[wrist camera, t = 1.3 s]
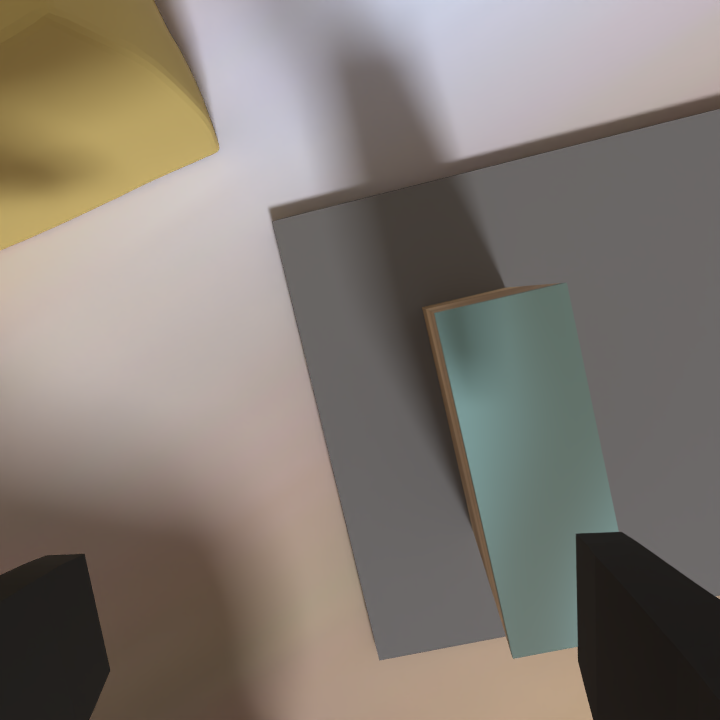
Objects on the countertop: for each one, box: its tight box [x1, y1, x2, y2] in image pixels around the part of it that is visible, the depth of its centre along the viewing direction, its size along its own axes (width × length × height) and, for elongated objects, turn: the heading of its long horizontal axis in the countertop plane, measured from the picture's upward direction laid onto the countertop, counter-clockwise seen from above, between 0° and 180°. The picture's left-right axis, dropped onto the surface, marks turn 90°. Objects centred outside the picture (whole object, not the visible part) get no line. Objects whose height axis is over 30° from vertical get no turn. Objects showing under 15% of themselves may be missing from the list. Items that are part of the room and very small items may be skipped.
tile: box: [422, 283, 619, 659], centre depth 16 cm, size 2×7×7 cm, turn 14°
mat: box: [272, 109, 720, 660], centre depth 19 cm, size 16×14×1 cm
